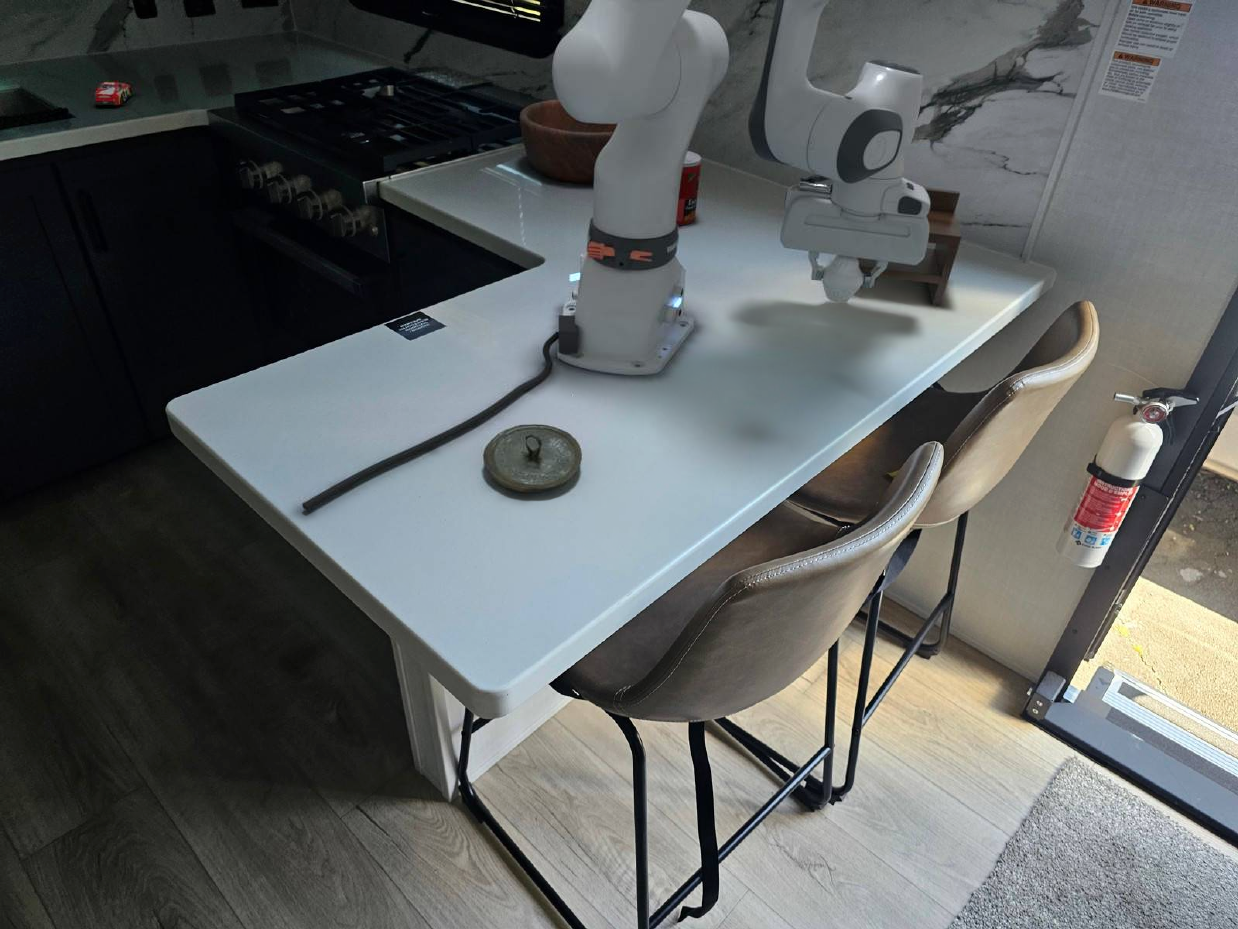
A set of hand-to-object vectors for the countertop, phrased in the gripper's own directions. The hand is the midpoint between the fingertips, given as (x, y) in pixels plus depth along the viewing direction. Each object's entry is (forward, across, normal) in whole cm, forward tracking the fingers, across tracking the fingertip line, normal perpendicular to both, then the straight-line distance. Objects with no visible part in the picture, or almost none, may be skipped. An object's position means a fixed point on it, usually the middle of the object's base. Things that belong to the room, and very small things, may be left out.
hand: (841, 282), depth 125 cm
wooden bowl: (+6, -49, +51) cm, 71 cm away
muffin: (+3, 0, 0) cm, 3 cm away
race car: (+8, -160, +62) cm, 172 cm away
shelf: (+4, +8, +11) cm, 15 cm away
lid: (+5, -34, -49) cm, 60 cm away
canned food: (+5, -28, +29) cm, 41 cm away
